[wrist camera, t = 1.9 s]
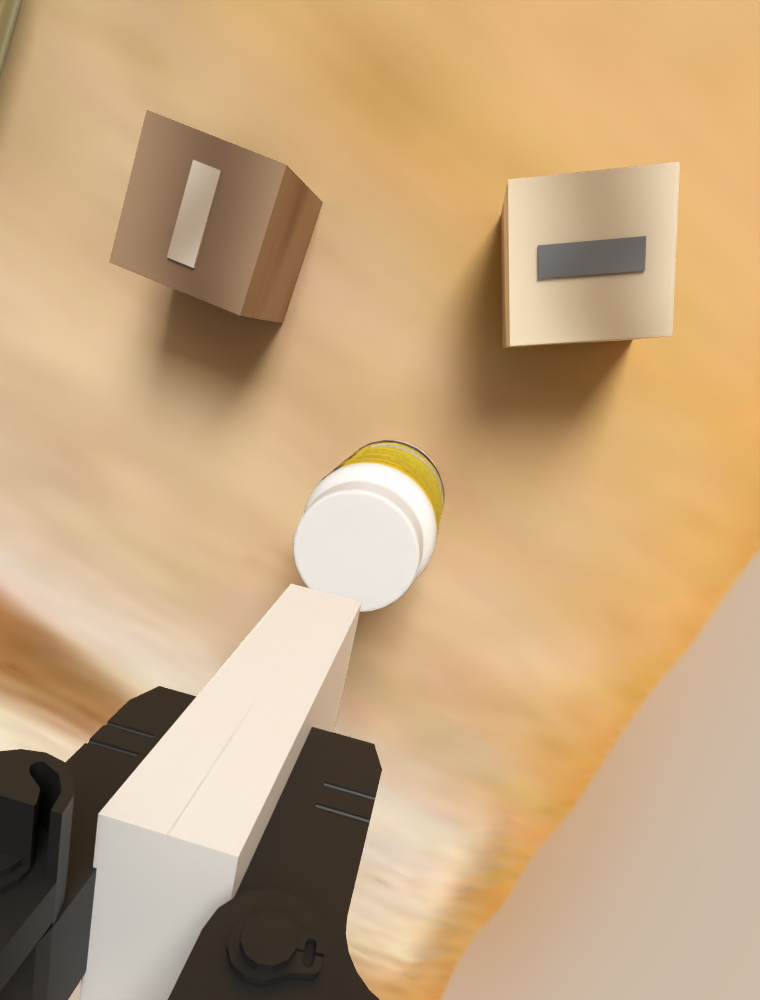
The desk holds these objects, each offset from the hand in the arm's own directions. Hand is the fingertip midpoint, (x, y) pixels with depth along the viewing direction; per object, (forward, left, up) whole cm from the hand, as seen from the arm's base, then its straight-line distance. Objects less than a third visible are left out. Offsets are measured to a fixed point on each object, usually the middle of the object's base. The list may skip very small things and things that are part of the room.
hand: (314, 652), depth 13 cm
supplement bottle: (0, 0, -15) cm, 15 cm away
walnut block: (-8, +9, -15) cm, 19 cm away
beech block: (+5, +10, -15) cm, 19 cm away
